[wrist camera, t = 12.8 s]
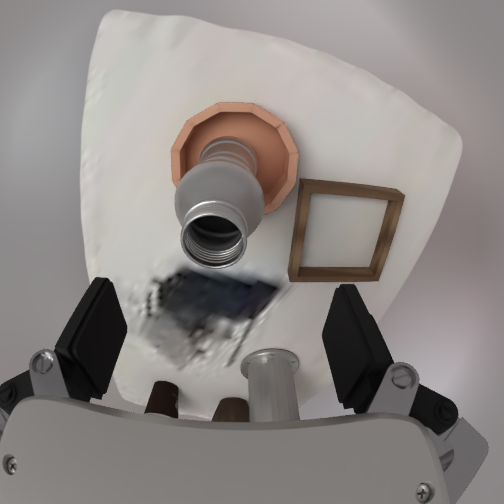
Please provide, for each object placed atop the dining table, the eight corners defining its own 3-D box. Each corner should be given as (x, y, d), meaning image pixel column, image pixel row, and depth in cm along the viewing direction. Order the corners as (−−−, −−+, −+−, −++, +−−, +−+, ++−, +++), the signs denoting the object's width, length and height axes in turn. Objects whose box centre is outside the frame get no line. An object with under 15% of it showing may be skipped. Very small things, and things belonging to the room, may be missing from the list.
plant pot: (256, 413, 71) (259, 460, 57) (206, 411, 70) (204, 459, 56) (264, 391, 63) (268, 447, 49) (205, 389, 62) (201, 445, 48)
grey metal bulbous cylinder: (243, 191, 34) (246, 301, 17) (194, 171, 32) (143, 265, 16) (266, 146, 31) (296, 217, 14) (214, 124, 29) (174, 166, 12)
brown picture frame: (372, 272, 43) (378, 281, 41) (287, 272, 42) (289, 282, 40) (396, 189, 35) (405, 195, 33) (300, 178, 34) (303, 184, 32)
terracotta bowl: (285, 209, 37) (290, 224, 33) (182, 206, 36) (175, 221, 32) (295, 105, 29) (302, 107, 25) (179, 103, 28) (169, 104, 25)
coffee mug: (153, 374, 58) (146, 409, 50) (186, 385, 61) (182, 419, 52) (145, 391, 64) (139, 422, 55) (174, 401, 66) (170, 431, 57)
